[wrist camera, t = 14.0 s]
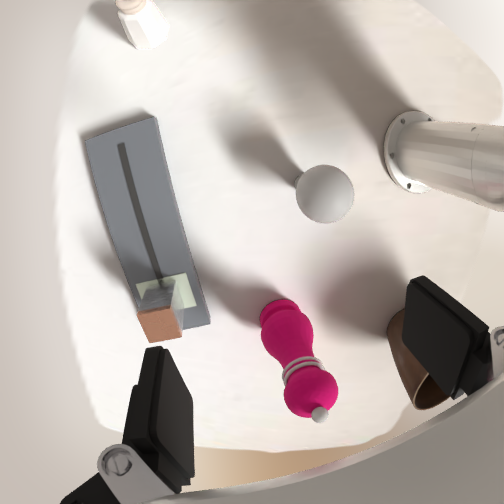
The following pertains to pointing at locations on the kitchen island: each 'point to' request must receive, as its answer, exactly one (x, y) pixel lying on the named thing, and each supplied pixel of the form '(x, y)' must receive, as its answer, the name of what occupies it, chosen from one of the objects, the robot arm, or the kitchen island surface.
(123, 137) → the fader panel
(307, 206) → the lightbulb
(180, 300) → the fader knob
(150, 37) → the pepper shaker
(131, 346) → the kitchen island surface
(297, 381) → the pepper mill
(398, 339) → the plant pot
